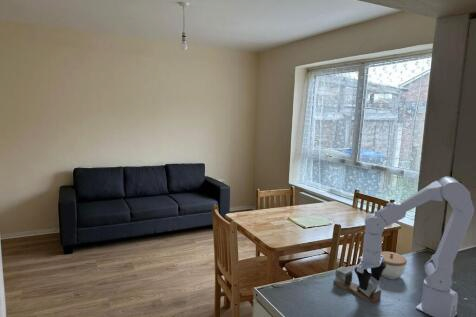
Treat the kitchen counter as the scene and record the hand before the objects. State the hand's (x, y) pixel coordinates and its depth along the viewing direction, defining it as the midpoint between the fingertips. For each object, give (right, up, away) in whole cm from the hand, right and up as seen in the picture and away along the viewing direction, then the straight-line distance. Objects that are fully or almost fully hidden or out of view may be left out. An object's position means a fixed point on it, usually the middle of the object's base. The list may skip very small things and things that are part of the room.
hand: (369, 285), depth 112 cm
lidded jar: (+15, -2, +16) cm, 22 cm away
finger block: (0, -2, +1) cm, 2 cm away
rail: (-3, -4, +4) cm, 6 cm away
